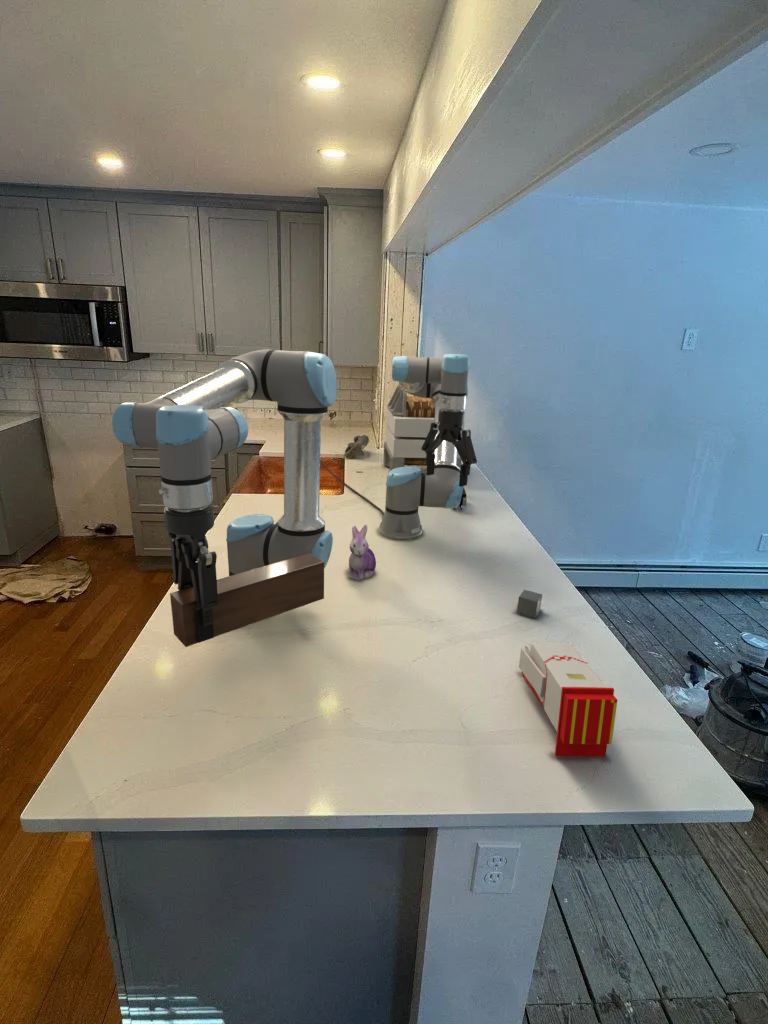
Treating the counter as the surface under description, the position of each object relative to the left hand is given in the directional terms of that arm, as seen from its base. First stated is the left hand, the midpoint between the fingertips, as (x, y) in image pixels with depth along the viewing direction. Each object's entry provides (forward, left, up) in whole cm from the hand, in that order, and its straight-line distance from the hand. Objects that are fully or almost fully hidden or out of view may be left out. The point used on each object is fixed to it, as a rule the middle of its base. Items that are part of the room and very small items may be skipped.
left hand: (198, 631), depth 98 cm
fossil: (-31, +210, -21) cm, 214 cm away
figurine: (+10, +72, -21) cm, 75 cm away
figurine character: (+30, +144, -21) cm, 148 cm away
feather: (-30, +107, -21) cm, 113 cm away
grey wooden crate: (+7, +187, -21) cm, 188 cm away
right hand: (+31, +89, +6) cm, 94 cm away
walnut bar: (+6, +9, 0) cm, 11 cm away
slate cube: (+59, +64, -21) cm, 89 cm away
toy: (+64, +25, -21) cm, 72 cm away
